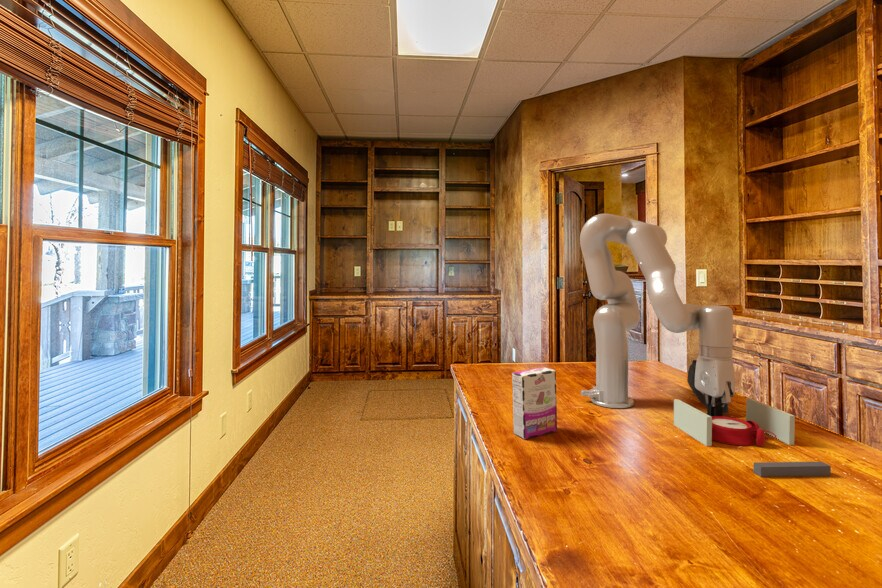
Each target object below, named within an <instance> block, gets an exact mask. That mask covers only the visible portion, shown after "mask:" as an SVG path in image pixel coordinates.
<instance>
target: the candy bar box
mask: <svg viewBox="0 0 882 588" xmlns="http://www.w3.org/2000/svg"><path fill="white" fill-rule="evenodd" d="M511 385H512V388H511V389H512V390H511V391H512V419H513V421H512V425H513V428H512V429H513V435H515V436H516V437H519V438H521V439H523V440H527V439H533V438H537V437H540V436H544V435H547V434H552V433H556V432H557V431H558V420H557V419H558V417H557V416H558V413H557V412H558V410H557V409H558V408H557V370H555V369H552V368H549V367H538V368H532V369H525V370H519V371H515V372H514V371H513V372H511Z"/></svg>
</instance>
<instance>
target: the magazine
mask: <svg viewBox="0 0 882 588" xmlns="http://www.w3.org/2000/svg"><path fill="white" fill-rule="evenodd" d="M696 362H697V359H692V361H691V364H690V365H689V367H688V371H687V379H686V381H687V384H688V386H689V387H690V389H691V391H692V392H693V394H694V396H696V398H697V399H698V401H699V402H700V403H701V404H702V405H704V406H705V407H706V408H707V403H706V400H705V396H704V395H703V394H702V393H701V392H700V391H699V390H697V389H696V388H695V369H696ZM725 414H729V403H725V404H724V407H723V415H725Z"/></svg>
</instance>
